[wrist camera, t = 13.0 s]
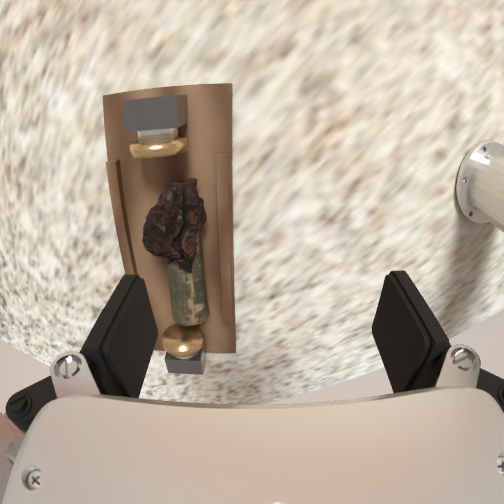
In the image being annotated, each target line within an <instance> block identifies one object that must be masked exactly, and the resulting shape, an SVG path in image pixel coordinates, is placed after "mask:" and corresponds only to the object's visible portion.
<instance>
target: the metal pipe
mask: <svg viewBox="0 0 504 504" xmlns="http://www.w3.org/2000/svg"><path fill="white" fill-rule="evenodd" d="M196 186H197V179H196V178H188V179H187V181H186V180H184V179H180V180H178V181H177V182H173V181H171V182H169V184H168V185H167V186H166V187H165V188H164V191H163V192H162V193H161V194H160V196H159V198H158V202H157V204H156V205H155V206H154V207H152V208H151V209H150V210H149V213H148V214H147V216H146V222H145V224H144V226H143V239H142V243H144V244H143V246H144V247H145V249H146V250H147V251H148V252H150V253H151V254H152V255H154V256H157V257H165V258H169V262H168V264H167V268H168V277H169V287H170V296H171V307H172V316H173V319H174V321H175V322H176V323H177V324H179V325H181V326H193V325H197V324H200V323H202V322H204V321H205V320H206V319H207V317H208V315H209V308H208V301H207V294H206V285H205V277H204V264H203V251H202V234H201V230H202V224H204V223H206V220H207V215H206V212H205V209H204V200H203V199H202V198H200V197H199V195H198V193H197V189H196Z"/></svg>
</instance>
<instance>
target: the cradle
mask: <svg viewBox="0 0 504 504" xmlns="http://www.w3.org/2000/svg"><path fill="white" fill-rule="evenodd" d="M171 95H187V106H188V122H187V123H186V124H184V125H182V126H180V127H178V136H185V137H186V140H187V150H186V151H185V152H183V153H180V154H176V155H171V156H165V157H158V158H143V159H141V158H132V157H131V156H130V147H129V144H130V143H131V142H133V141H136V140H137V131H135V132H126V133H125V127H124V110H123V101H127V100H134V99H142V98H150V97H160V96H171ZM103 109H104V124H105V136H106V147H107V157H108V162H106V167H107V175H108V182H109V189H110V196H111V202H112V209H113V214H114V220H115V226H116V231H117V236H118V241H119V246H120V251H121V256H122V261H123V265H124V269H125V274H138V275H139V276H140V278H143V279H144V281H145V284H146V288H147V292H148V296H149V300H150V304H151V307H152V311H153V315H154V318H155V322H156V325H157V329H158V337H157V341H156V344H155V347H154V350H163V351H166V350H165V349H164V346H163V342H162V334H163V332H164V331H165V330H166V329H167V328H168V327H169V326H171V325H173V324H176V322H175V321H174V319H173V316H172V307H171V296H170V287H169V277H168V268H167V264H168V262H169V258H165V257H157V256H154V255H152V254H151V253H150V252H148V251H147V250H146V249H145V247H144V246H143V244H144V243H142V239H143V226H144V224H145V222H146V216H147V214H148V213H149V210H150V209H151V208H152V207H154V206H155V205H156V204H157V202H158V198H159V196H160V194H161V193H162V192H163V191H164V188H165V187H166V186H167V185H168V184H169V182H171V181H173V182H177V181H178V180H180V179H184V180H186V181H187V179H188V178H196V179H197V186H196V189H197V193H198V195H199V197H200V198H202V199H203V200H204V209H205V212H206V215H207V220H206V223H204V224H202V230H201V234H202V251H203V264H204V277H205V285H206V294H207V301H208V308H209V315H208V317H207V319H206V320H205V321H204V322H202V323H200V324H197V326H198V327H199V328H200V329H201V330H202V333H203V334H204V337H205V345H206V352H214V353H236V336H235V302H234V259H233V196H232V83H228V84H200V85H184V86H171V87H161V88H152V89H144V90H136V91H129V92H122V93H116V94H110V95H104V96H103Z"/></svg>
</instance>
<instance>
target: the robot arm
mask: <svg viewBox="0 0 504 504" xmlns="http://www.w3.org/2000/svg"><path fill="white" fill-rule="evenodd" d="M456 191H457V200H458V204H459V207H460V209H461V211H462V212H463V214H464V215H465V216H466V217H467V218H468V219H470V220H471V221H472V222H475V223H477V224H485V223H488V222H491V223H492V224H493V225H495V226H496V227H497V228H498V229H500V230H501V231H502V232H504V146H503V145H501V144H499V143H497V142H494V141H483V142H480V143H478V144H476V145H475V146H474V147H473V148H472V149H471V150H470V151H469V152H468V154H467V155H466V156H465V158H464V160H463V162H462V164H461V167H460V170H459V173H458V178H457V186H456ZM372 334H373V337H374V340H375V342H376V345H377V348H378V350H379V353H380V356H381V358H382V361H383V364H384V367H385V369H386V372H387V375H388V378H389V380H390V383H391V386H392V389H393V392H394V393H393V394H386V395H380V396H372V397H366V398H356V399H348V400H338V401H328V402H314V403H298V404H271V405H228V404H201V403H185V402H172V401H161V400H150V399H140V398H139V395H140V391H141V388H142V385H143V381H144V378H145V375H146V372H147V369H148V365H149V362H150V359H151V356H152V353H153V350H154V347H155V344H156V341H157V337H158V329H157V325H156V322H155V318H154V315H153V311H152V307H151V304H150V300H149V296H148V292H147V288H146V284H145V281H144V279H143V278H140V276H139V275H138V274H125V275H124V276H123V277H122V279H121V280H120V282H119V284H118V285H117V287H116V289H115V290H114V292H113V294H112V295H111V297H110V299H109V301H108V302H107V304H106V306H105V307H104V309H103V310H102V312H101V314H100V315H99V317H98V319H97V321H96V323H95V324H94V326H93V328H92V330H91V332H90V333H89V335H88V337H87V339H86V341H85V343H84V345H83V347H82V349H81V350H80V352H75V351H69V352H65V353H63V354H61V355H59V356H58V357H57V358H56V359H55V360H54V361H53V363H52V364H51V368H50V374H51V376H49V377H47V378H45V379H43V380H41V381H39V382H37V383H35V384H33V385H31V386H29V387H27V388H25V389H23V390H21V391H19V392H17V393H15V394H14V395H12V396H11V397H10V399H9V400H8V402H7V405H6V413H5V414H4V415H3V414H2V413H0V504H504V379H502V378H500V377H498V376H496V375H494V374H491V373H489V372H487V371H485V370H483V369H481V368H480V366H481V361H480V358H479V356H478V354H477V353H476V352H475V351H474V350H473V349H472V348H470V347H468V346H465V345H455V346H452V347H451V345H450V343H449V339H448V338H447V336H446V334H445V332H444V331H443V329H442V327H441V326H440V324H439V322H438V321H437V319H436V317H435V316H434V314H433V313H432V311H431V309H430V308H429V306H428V305H427V303H426V301H425V300H424V298H423V297H422V295H421V294H420V292H419V291H418V289H417V288H416V286H415V285H414V283H413V282H412V280H411V279H410V277H409V276H408V274H407V273H406V272H405V271H391V272H390V273H389V275H386V277H385V280H384V284H383V288H382V292H381V296H380V300H379V303H378V307H377V311H376V314H375V318H374V321H373V325H372Z"/></svg>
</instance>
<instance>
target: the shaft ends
mask: <svg viewBox="0 0 504 504" xmlns="http://www.w3.org/2000/svg"><path fill="white" fill-rule="evenodd" d="M123 110H124V127H125V133H126V132H135V131H137V140H136V141H133V142H131V143H130V144H129V147H130V156H131V157H132V158H141V159H143V158H158V157H165V156H171V155H176V154H180V153H183V152H185V151H186V150H187V140H186V137H185V136H178V127H180V126H182V125H184V124H186V123H187V122H188V106H187V95H171V96H160V97H150V98H142V99H134V100H127V101H123ZM162 342H163V346H164V349H165V350H166V356H165V362H166V366H167V369H168V373H183V374H203V370H204V361H205V352H206V345H205V337H204V334H203V333H202V330H201V329H200V328H199V327H198V326H197V325H193V326H181V325H179V324H177V323H176V324H173V325H171V326H169V327H168V328H167V329H166V330H165V331H164V332H163V334H162Z"/></svg>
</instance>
